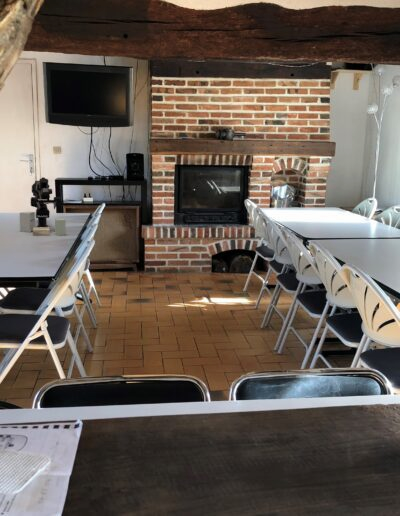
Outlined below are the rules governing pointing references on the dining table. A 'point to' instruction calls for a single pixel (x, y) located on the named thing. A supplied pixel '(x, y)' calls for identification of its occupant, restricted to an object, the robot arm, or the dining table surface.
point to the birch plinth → (41, 231)
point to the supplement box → (27, 221)
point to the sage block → (60, 227)
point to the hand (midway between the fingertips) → (47, 208)
